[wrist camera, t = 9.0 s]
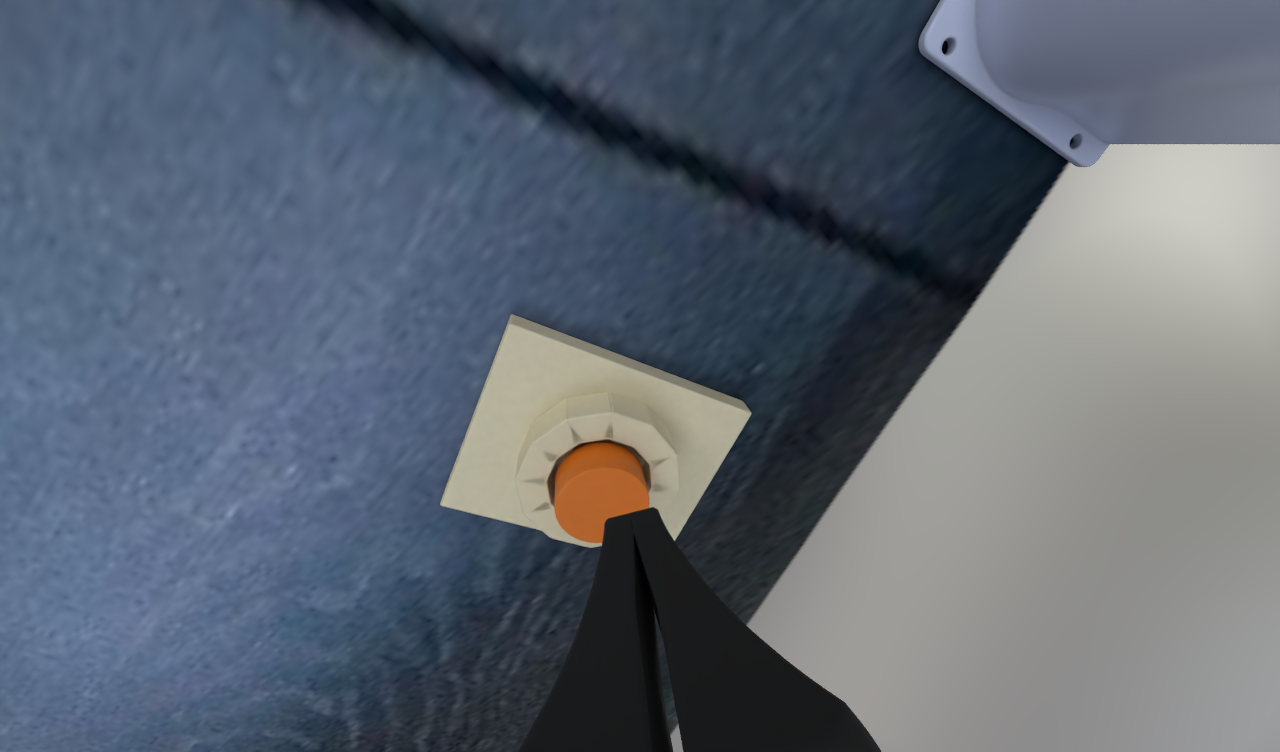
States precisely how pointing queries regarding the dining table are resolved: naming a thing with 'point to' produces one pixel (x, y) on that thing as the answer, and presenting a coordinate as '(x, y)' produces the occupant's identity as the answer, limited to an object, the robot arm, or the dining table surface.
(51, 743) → the dining table surface
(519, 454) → the button block
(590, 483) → the orange button
